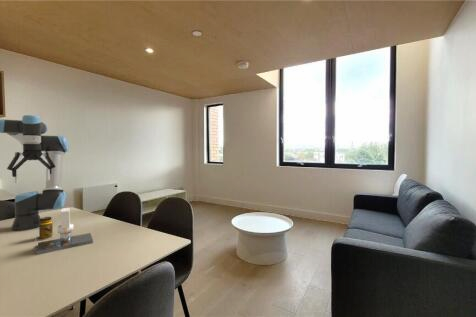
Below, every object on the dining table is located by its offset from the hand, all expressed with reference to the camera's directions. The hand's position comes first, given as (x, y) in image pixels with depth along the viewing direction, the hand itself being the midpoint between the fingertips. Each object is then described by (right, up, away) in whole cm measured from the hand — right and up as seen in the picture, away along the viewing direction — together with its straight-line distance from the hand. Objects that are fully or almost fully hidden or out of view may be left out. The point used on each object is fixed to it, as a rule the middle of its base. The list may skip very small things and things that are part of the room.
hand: (33, 181), depth 126 cm
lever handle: (+19, -28, -1) cm, 34 cm away
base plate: (+19, -35, 0) cm, 40 cm away
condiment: (-1, -35, +8) cm, 36 cm away
